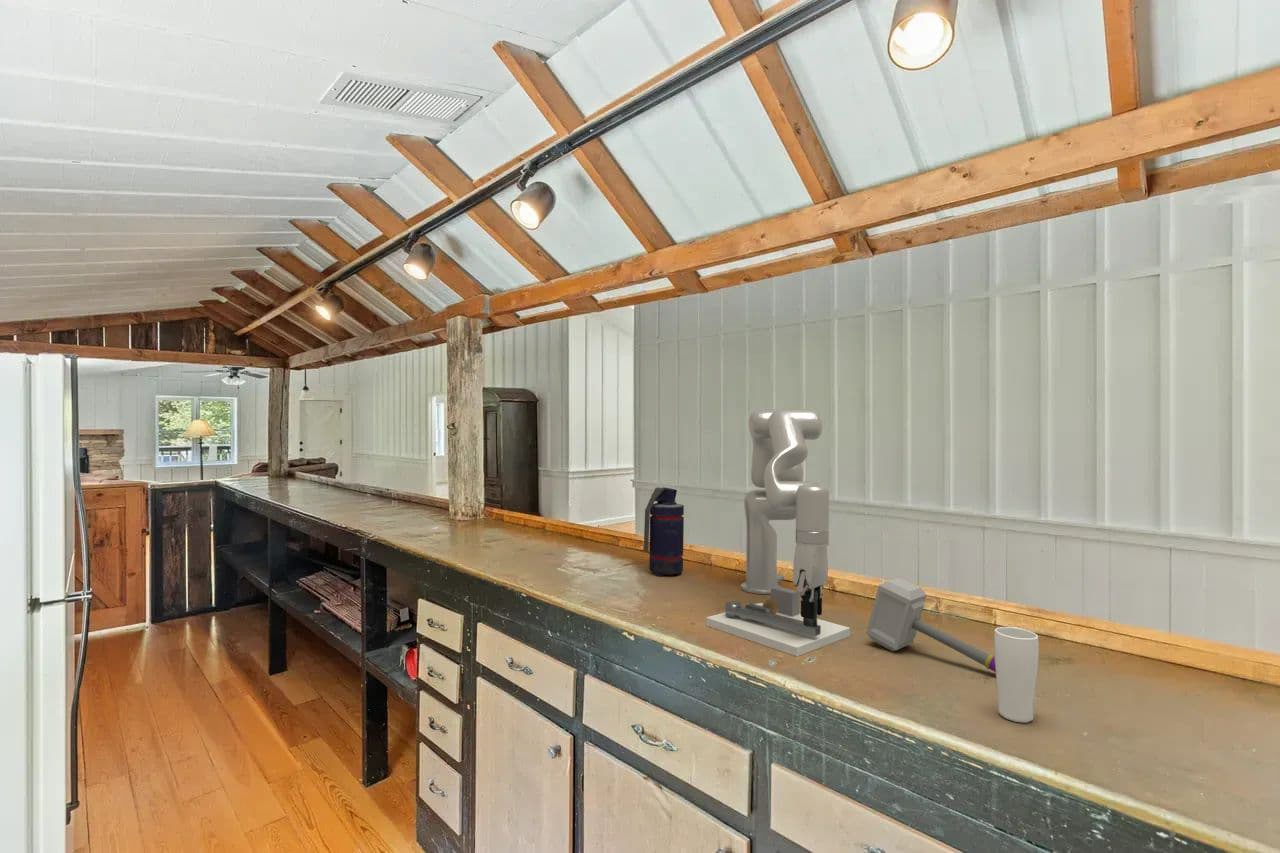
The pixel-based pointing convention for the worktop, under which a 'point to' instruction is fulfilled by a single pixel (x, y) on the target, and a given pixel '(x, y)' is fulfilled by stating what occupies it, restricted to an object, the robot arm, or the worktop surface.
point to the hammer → (911, 621)
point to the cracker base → (776, 635)
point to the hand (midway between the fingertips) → (811, 615)
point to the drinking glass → (1016, 672)
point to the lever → (775, 617)
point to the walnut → (771, 605)
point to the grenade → (664, 532)
